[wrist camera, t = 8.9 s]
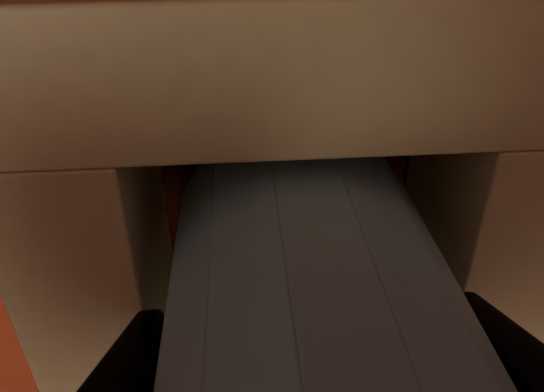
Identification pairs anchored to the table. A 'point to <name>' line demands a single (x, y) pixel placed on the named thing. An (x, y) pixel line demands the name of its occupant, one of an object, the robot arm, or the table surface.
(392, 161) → the table surface
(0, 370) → the table surface
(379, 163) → the bottle
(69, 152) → the hole block
